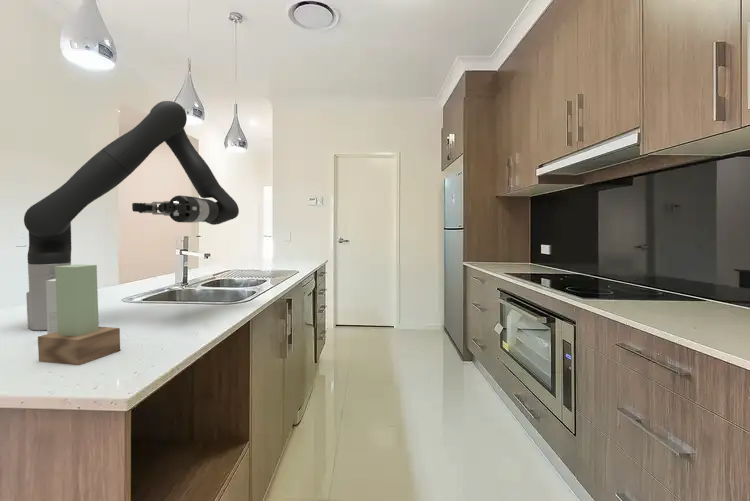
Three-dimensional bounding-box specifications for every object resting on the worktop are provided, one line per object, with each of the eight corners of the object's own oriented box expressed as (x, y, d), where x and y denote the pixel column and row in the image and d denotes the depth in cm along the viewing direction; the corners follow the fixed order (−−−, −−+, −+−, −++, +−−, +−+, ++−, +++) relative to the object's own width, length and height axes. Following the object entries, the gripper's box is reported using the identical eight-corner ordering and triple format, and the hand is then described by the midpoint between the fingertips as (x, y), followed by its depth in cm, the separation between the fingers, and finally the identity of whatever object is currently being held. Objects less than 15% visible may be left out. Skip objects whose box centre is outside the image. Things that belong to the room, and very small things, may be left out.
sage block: (57, 334, 88) (55, 266, 87) (79, 329, 93) (77, 264, 92) (77, 336, 87) (75, 267, 86) (98, 330, 91) (96, 265, 91)
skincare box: (68, 333, 108) (65, 275, 107) (93, 333, 109) (91, 275, 108) (46, 343, 100) (43, 279, 99) (73, 342, 100) (71, 279, 100)
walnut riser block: (38, 361, 86) (37, 336, 86) (82, 347, 96) (81, 325, 96) (79, 364, 84) (78, 339, 84) (120, 350, 94) (119, 328, 94)
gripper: (167, 196, 125) (123, 192, 109) (211, 196, 122) (172, 191, 106) (168, 222, 126) (124, 221, 110) (211, 222, 122) (172, 222, 107)
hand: (147, 207), depth 108 cm, fingers open, 8 cm apart
